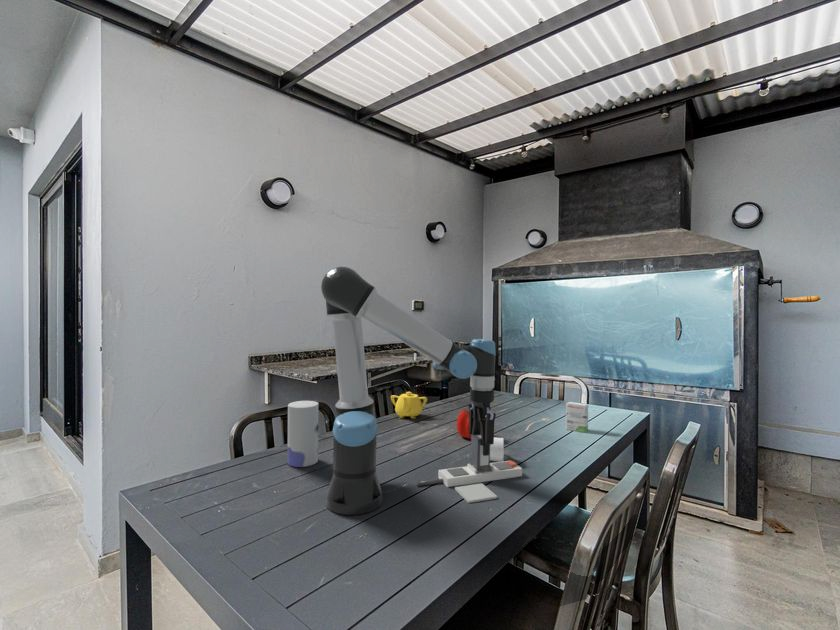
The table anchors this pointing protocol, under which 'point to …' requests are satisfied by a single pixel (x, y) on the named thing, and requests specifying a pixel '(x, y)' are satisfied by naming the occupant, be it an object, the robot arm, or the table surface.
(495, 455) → the mug
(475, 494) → the felt pad
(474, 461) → the block
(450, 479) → the power strip
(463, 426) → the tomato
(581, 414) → the ink box
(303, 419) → the container
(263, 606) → the table surface
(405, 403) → the yellow handled pot
